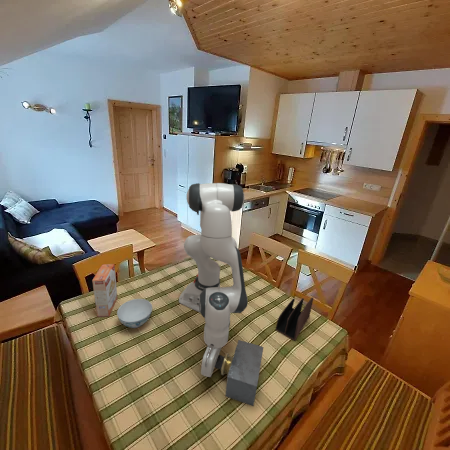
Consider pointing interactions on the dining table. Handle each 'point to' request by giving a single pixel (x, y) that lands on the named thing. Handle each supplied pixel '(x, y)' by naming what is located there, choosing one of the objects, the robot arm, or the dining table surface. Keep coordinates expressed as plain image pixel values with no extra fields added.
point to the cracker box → (105, 290)
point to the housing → (244, 372)
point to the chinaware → (134, 312)
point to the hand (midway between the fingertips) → (213, 362)
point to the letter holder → (293, 319)
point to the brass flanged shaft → (224, 363)
